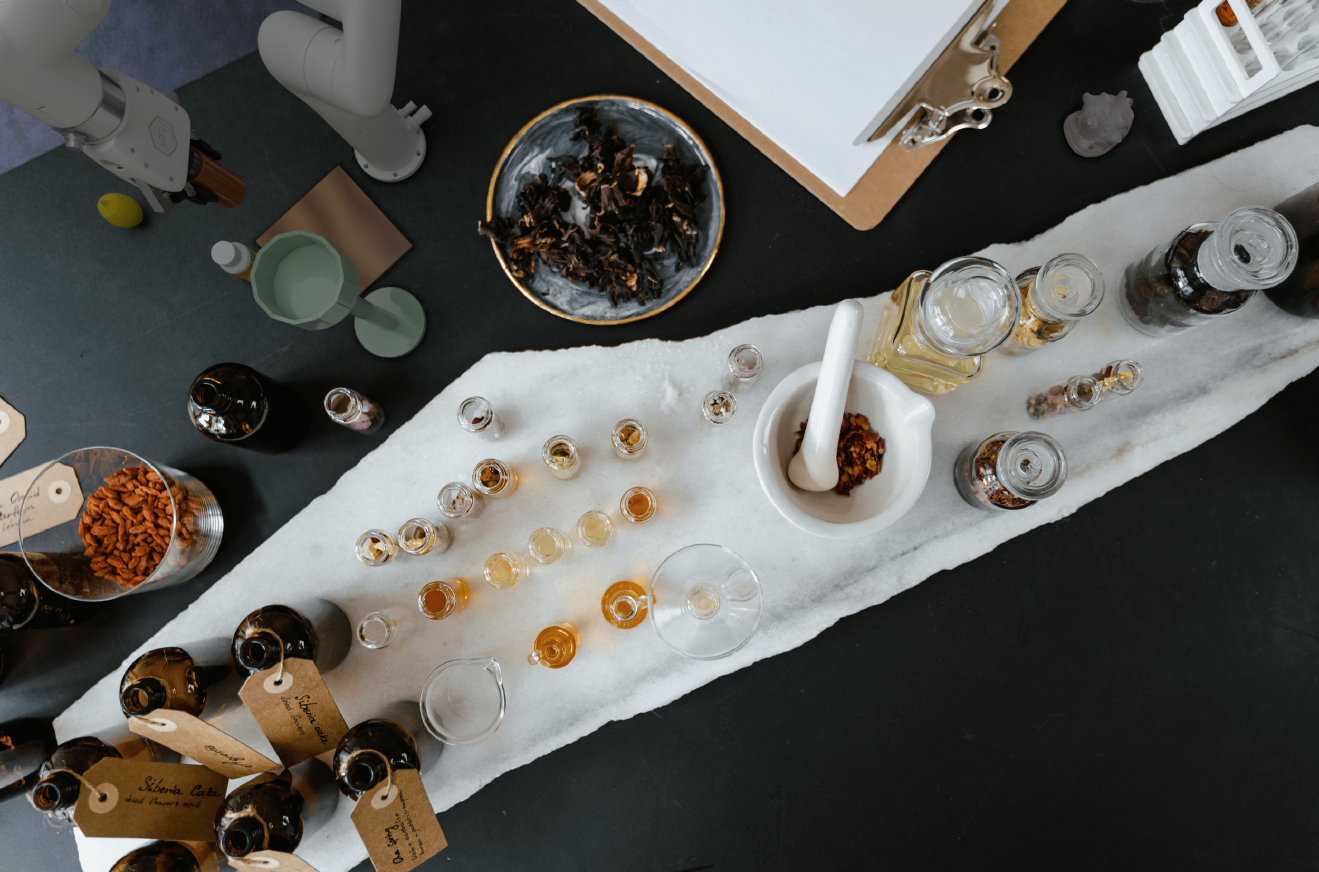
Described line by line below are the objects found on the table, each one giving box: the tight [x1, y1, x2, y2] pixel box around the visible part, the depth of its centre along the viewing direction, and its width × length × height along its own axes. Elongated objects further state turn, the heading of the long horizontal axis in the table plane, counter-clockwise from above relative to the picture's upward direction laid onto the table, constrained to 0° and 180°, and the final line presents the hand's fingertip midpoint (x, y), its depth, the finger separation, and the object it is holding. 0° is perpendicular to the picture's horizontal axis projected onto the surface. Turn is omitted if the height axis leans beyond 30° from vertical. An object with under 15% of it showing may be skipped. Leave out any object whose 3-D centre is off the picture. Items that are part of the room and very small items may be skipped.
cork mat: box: [255, 164, 414, 297], centre depth 118 cm, size 20×20×1 cm
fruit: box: [97, 192, 144, 229], centre depth 115 cm, size 6×6×8 cm
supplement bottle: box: [210, 240, 259, 283], centre depth 113 cm, size 5×5×10 cm
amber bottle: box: [186, 145, 247, 209], centre depth 85 cm, size 5×5×9 cm
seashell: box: [1063, 90, 1135, 158], centre depth 110 cm, size 10×12×9 cm
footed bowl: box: [250, 230, 427, 359], centre depth 102 cm, size 12×12×29 cm
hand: (208, 178), depth 85 cm, fingers closed on amber bottle, 4 cm apart
